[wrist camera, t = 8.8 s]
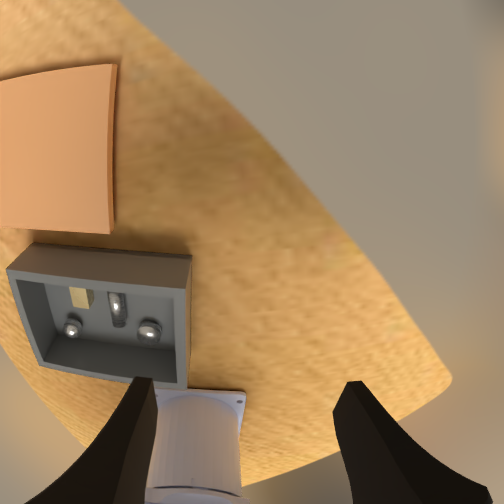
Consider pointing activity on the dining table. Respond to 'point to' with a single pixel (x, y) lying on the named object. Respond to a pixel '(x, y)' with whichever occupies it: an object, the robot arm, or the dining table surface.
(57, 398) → the dining table surface
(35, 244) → the tub
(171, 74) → the dining table surface
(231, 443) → the robot arm
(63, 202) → the lid
